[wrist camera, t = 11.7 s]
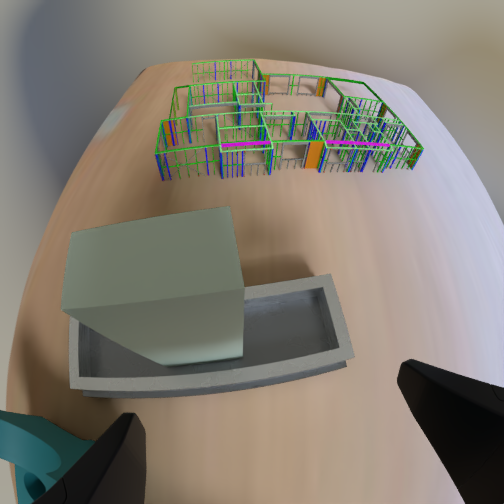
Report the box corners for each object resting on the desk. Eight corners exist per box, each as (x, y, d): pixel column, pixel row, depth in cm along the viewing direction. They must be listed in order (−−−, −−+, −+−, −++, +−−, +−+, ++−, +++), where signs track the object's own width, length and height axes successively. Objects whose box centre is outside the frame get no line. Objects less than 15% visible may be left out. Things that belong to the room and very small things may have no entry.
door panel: (236, 321, 21) (229, 205, 9) (242, 357, 20) (244, 288, 8) (162, 330, 20) (71, 232, 8) (166, 366, 19) (60, 309, 7)
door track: (319, 283, 24) (329, 268, 22) (341, 368, 20) (356, 363, 18) (87, 313, 22) (71, 301, 19) (89, 396, 18) (70, 394, 15)
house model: (162, 188, 30) (153, 158, 26) (176, 86, 45) (173, 65, 41) (413, 175, 34) (427, 152, 30) (342, 84, 49) (346, 66, 44)
